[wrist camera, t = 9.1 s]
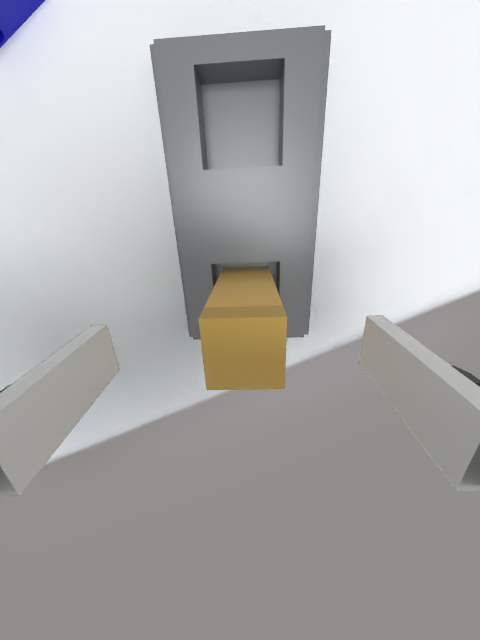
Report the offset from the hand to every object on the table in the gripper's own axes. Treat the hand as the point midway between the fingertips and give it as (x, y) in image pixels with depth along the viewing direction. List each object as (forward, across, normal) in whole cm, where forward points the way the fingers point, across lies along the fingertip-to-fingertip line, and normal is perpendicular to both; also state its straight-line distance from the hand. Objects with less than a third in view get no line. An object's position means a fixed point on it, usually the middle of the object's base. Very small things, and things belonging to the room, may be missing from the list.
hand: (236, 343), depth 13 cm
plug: (+11, +1, 0) cm, 11 cm away
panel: (+12, +1, +6) cm, 13 cm away
